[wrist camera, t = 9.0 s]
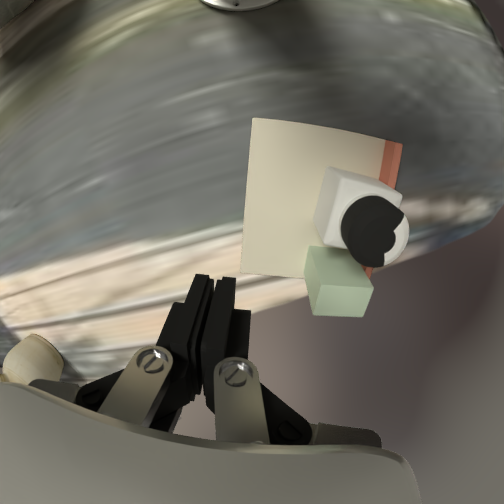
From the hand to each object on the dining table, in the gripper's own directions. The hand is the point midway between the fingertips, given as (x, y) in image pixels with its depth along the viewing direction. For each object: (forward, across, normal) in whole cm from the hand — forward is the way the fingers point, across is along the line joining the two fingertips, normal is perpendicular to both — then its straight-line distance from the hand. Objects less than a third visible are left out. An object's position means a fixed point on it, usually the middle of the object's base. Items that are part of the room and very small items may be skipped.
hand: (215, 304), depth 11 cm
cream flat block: (+23, -8, +2) cm, 24 cm away
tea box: (+22, -12, +9) cm, 27 cm away
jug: (+23, +49, +43) cm, 69 cm away
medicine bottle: (+23, -12, +1) cm, 26 cm away
